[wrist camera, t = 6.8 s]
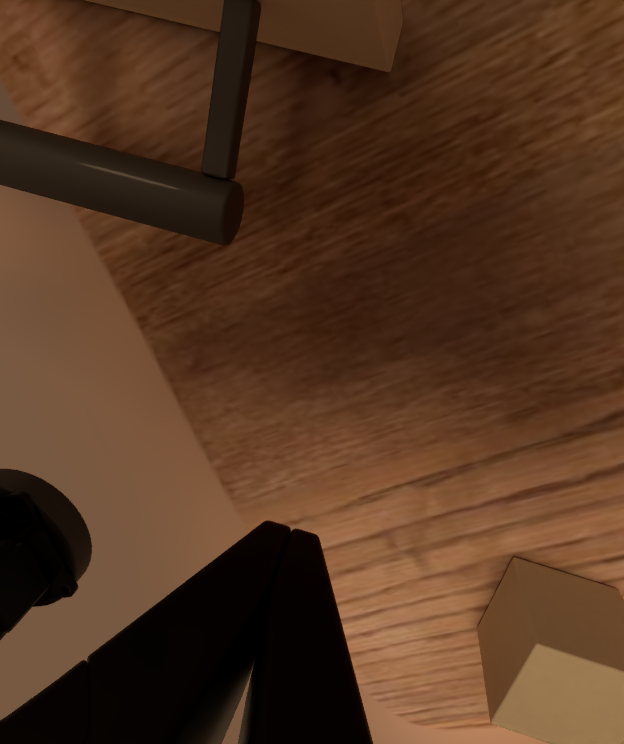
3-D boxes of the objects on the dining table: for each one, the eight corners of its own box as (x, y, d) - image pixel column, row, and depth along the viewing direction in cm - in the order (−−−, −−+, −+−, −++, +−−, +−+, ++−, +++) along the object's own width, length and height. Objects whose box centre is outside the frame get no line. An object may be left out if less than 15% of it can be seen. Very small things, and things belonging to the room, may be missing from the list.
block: (572, 659, 21) (607, 764, 17) (476, 628, 21) (489, 724, 17) (618, 588, 19) (667, 686, 15) (513, 555, 19) (536, 644, 16)
